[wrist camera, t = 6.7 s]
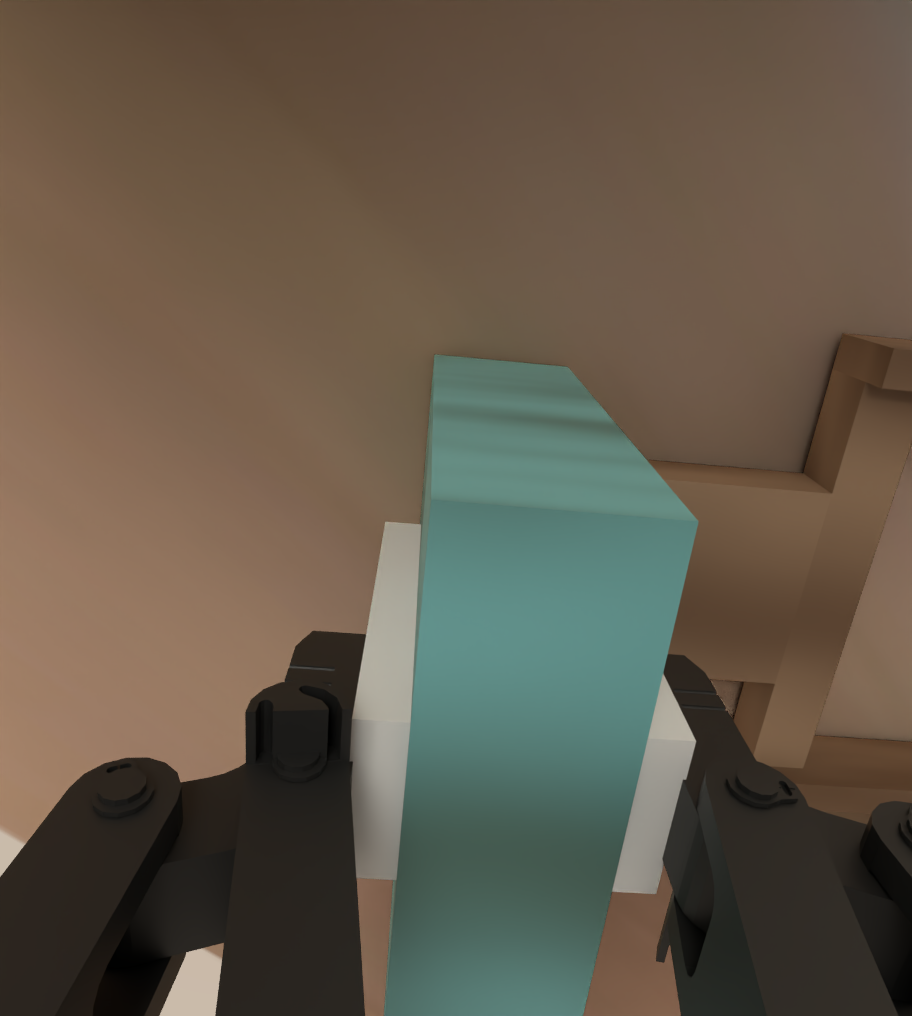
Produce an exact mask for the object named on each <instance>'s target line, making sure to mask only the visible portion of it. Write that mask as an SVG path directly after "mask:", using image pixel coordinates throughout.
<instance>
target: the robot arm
mask: <svg viewBox="0 0 912 1016" xmlns="http://www.w3.org/2000/svg"><path fill="white" fill-rule="evenodd" d="M420 536H421V524H411V523H398V522H385V527H384V533H383V539H382V545H381V551H380V557H379V563H378V568H377V574H376V580H375V586H374V592H373V598H372V604H371V610H370V616H369V621H368V627H367V633H366V634H352V633H338V632H324V631H312V632H311V633H310V634H309V635H308V636H307V637H305V638H304V639H303V640H302V641H301V642H300V643H299V644H298V645H296V647H295V650H294V653H293V656H292V659H291V662H290V668H289V669H288V672H287V675H286V678H285V682H281V683H278V684H276V685H273V686H271V687H268V688H266V689H263V690H262V691H261V692H260V693H259V694H257V695H256V696H255V697H254V698H252V699H251V701H250V703H249V705H248V708H247V710H246V712H245V713H246V763H245V764H243V765H242V766H240V767H239V768H236V769H234V770H232V771H229V772H227V773H225V774H221V775H217V776H213V777H209V778H204V779H198V780H193V781H187V782H181V783H180V780H179V776H178V773H177V772H176V771H175V770H174V769H172V768H171V767H170V766H169V765H168V764H166V763H165V762H161V761H158V760H154V759H151V758H124V759H120V760H116V761H112V762H108V763H104V764H103V765H101V766H99V767H97V768H95V769H93V770H91V771H89V772H87V773H85V774H84V775H83V776H82V777H80V778H79V779H78V780H77V781H76V782H75V783H74V784H73V785H72V786H71V787H70V788H69V789H68V790H67V791H66V793H65V794H64V795H63V797H62V798H61V799H60V800H59V802H58V803H57V804H56V806H55V807H54V808H53V810H52V811H51V812H50V813H49V815H48V816H47V817H46V819H45V820H44V821H43V822H42V824H41V825H40V826H39V828H38V829H37V830H36V831H35V833H34V834H33V835H32V837H31V838H30V839H29V841H28V842H27V843H26V844H25V846H24V847H23V848H22V850H21V851H20V852H19V854H18V855H17V856H16V857H15V859H14V860H13V861H12V863H11V864H10V865H9V866H8V868H7V869H6V870H5V872H4V873H3V875H2V876H1V877H0V1016H159V1015H160V1013H161V1010H162V1008H163V1006H164V1004H165V1001H166V999H167V997H168V994H169V992H170V990H171V988H172V985H173V983H174V981H175V979H176V976H177V974H178V972H179V969H180V967H181V965H182V962H183V960H184V958H185V955H186V952H189V951H192V950H197V949H201V948H205V947H209V946H212V945H216V944H220V943H224V949H223V958H222V966H221V974H220V982H219V990H218V999H217V1007H216V1016H365V1009H364V992H363V976H362V960H361V944H360V927H359V911H358V895H357V879H356V878H363V879H382V880H396V879H397V868H398V857H399V846H400V834H401V823H402V812H403V801H404V790H405V779H406V768H407V757H408V745H409V734H410V723H411V705H412V686H413V667H414V648H415V630H416V611H417V592H418V574H419V555H420ZM664 865H665V868H666V871H667V874H668V877H669V880H670V883H671V885H672V888H673V891H672V895H671V899H670V902H669V906H668V910H667V913H666V917H665V921H664V924H663V928H662V932H661V935H660V939H659V943H658V946H657V956H656V961H658V962H663V963H664V961H665V957H666V954H667V950H668V947H669V945H670V947H671V953H672V960H673V966H674V973H675V979H676V986H677V992H678V999H679V1005H680V1012H681V1016H912V803H908V802H900V801H890V802H885V803H880V804H879V805H878V806H877V807H876V808H875V809H874V810H873V811H872V813H871V816H870V818H869V821H868V823H867V824H864V823H860V822H857V821H853V820H850V819H846V818H843V817H840V816H836V815H833V814H829V813H826V812H823V811H820V810H817V809H814V808H812V807H809V806H808V804H807V801H806V799H805V797H804V796H803V794H802V793H801V791H800V790H799V789H798V787H797V786H796V784H795V783H793V782H792V781H791V780H790V779H788V778H787V777H786V776H785V775H784V774H782V773H781V772H779V771H777V770H776V769H774V768H772V767H770V766H768V765H766V764H764V763H761V762H758V761H756V759H755V757H754V756H753V754H752V752H751V751H750V749H749V747H748V745H747V744H746V742H745V740H744V739H743V737H742V735H741V733H740V732H739V730H738V728H737V726H736V725H735V723H734V721H733V720H732V718H731V716H730V714H729V713H728V711H725V706H724V704H723V702H722V701H721V699H720V697H719V695H716V690H715V688H714V687H713V685H712V683H711V682H710V680H709V678H708V676H707V675H706V673H705V672H704V671H703V670H702V669H700V668H699V667H698V666H697V665H696V664H694V663H693V662H692V661H691V660H690V659H688V658H687V657H686V656H685V655H674V654H668V655H667V659H666V663H665V667H664V672H663V676H662V680H661V684H660V689H659V693H658V697H657V702H656V706H655V710H654V714H653V719H652V723H651V727H650V731H649V736H648V740H647V744H646V749H645V753H644V757H643V761H642V766H641V770H640V774H639V778H638V783H637V787H636V791H635V796H634V800H633V804H632V808H631V813H630V817H629V821H628V826H627V830H626V834H625V838H624V843H623V847H622V851H621V855H620V860H619V864H618V868H617V873H616V877H615V881H614V885H613V890H612V892H626V893H645V894H656V892H657V888H658V885H659V881H660V877H661V873H662V869H663V866H664Z"/></svg>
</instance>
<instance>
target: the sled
mask: <svg viewBox="0 0 912 1016" xmlns="http://www.w3.org/2000/svg"><path fill="white" fill-rule="evenodd" d="M911 444H912V340H906V339H896V338H885V337H875V336H865V335H855V334H844V333H843V334H842V338H841V341H840V345H839V348H838V352H837V355H836V359H835V363H834V366H833V370H832V373H831V377H830V380H829V384H828V387H827V391H826V394H825V398H824V402H823V405H822V409H821V412H820V416H819V419H818V423H817V426H816V430H815V433H814V437H813V440H812V444H811V448H810V451H809V455H808V458H807V462H806V465H805V469H804V472H803V473H794V472H783V471H771V470H760V469H748V468H736V467H725V466H713V465H702V464H690V463H678V462H667V461H655V460H646V459H645V457H644V456H643V455H642V454H641V453H640V452H639V450H638V449H637V448H636V447H635V446H634V444H633V443H632V442H631V441H630V440H629V439H628V437H627V436H626V435H625V434H624V433H623V431H622V430H621V429H620V428H619V427H618V426H617V424H616V423H615V422H614V421H613V420H612V418H611V417H610V416H609V415H608V414H607V413H606V411H605V410H604V409H603V408H602V407H601V405H600V404H599V403H598V402H597V401H596V400H595V398H594V397H593V396H592V395H591V394H590V392H589V391H588V390H587V389H586V388H585V387H584V385H583V384H582V383H581V382H580V381H579V379H578V378H577V377H576V376H575V375H574V374H573V372H572V371H571V370H570V369H569V368H568V367H565V366H554V365H543V364H532V363H522V362H511V361H500V360H489V359H479V358H468V357H457V356H446V355H436V354H434V365H433V377H432V389H431V401H430V412H429V424H428V436H427V447H426V459H425V471H424V483H423V494H422V506H421V518H420V524H421V536H420V555H419V574H418V592H417V611H416V630H415V648H414V667H413V686H412V705H411V723H410V734H409V745H408V757H407V768H406V779H405V790H404V801H403V812H402V823H401V834H400V846H399V857H398V868H397V879H396V880H393V887H392V902H391V917H390V932H389V947H388V962H387V976H386V991H385V1006H384V1016H583V1014H584V1009H585V1005H586V1001H587V997H588V992H589V988H590V984H591V979H592V975H593V971H594V967H595V962H596V958H597V954H598V949H599V945H600V941H601V937H602V932H603V928H604V924H605V920H606V915H607V911H608V907H609V902H610V898H611V894H612V890H613V885H614V881H615V877H616V873H617V868H618V864H619V860H620V855H621V851H622V847H623V843H624V838H625V834H626V830H627V826H628V821H629V817H630V813H631V808H632V804H633V800H634V796H635V791H636V787H637V783H638V778H639V774H640V770H641V766H642V761H643V757H644V753H645V749H646V744H647V740H648V736H649V731H650V727H651V723H652V719H653V714H654V710H655V706H656V702H657V697H658V693H659V689H660V684H661V680H662V676H663V672H664V667H665V663H666V659H667V655H668V654H674V655H685V656H686V657H687V658H688V659H690V660H691V661H692V662H693V663H694V664H696V665H697V666H698V667H699V668H700V669H702V670H703V671H704V672H705V673H706V675H707V676H708V678H709V679H714V680H728V681H742V682H744V685H743V688H742V692H741V695H740V699H739V702H738V706H737V709H736V713H735V717H734V720H733V721H734V723H735V725H736V726H737V728H738V730H739V732H740V733H741V735H742V737H743V739H744V740H745V742H746V744H747V745H748V747H749V749H750V751H751V752H752V754H753V756H754V757H755V759H756V761H758V762H761V763H764V764H766V765H768V766H770V767H772V768H774V769H776V770H777V771H779V772H781V773H782V774H784V775H785V776H786V777H787V778H788V779H790V780H791V781H792V782H793V783H795V784H796V786H797V787H798V789H799V790H800V791H801V793H802V794H803V796H804V797H805V799H806V801H807V804H808V806H809V807H812V808H814V809H817V810H820V811H834V812H850V813H867V814H871V813H872V811H873V810H874V809H875V808H876V807H877V806H878V805H879V804H880V803H885V802H890V801H900V802H908V803H912V742H904V741H889V740H873V739H858V738H843V737H828V736H814V734H815V731H816V728H817V725H818V722H819V719H820V716H821V713H822V710H823V707H824V704H825V701H826V698H827V695H828V692H829V689H830V686H831V683H832V680H833V677H834V674H835V671H836V668H837V666H838V663H839V660H840V657H841V654H842V651H843V648H844V645H845V642H846V639H847V636H848V633H849V630H850V627H851V624H852V621H853V618H854V615H855V612H856V609H857V606H858V603H859V600H860V597H861V594H862V591H863V588H864V585H865V582H866V579H867V576H868V573H869V570H870V567H871V564H872V561H873V558H874V555H875V552H876V549H877V546H878V543H879V540H880V537H881V534H882V531H883V528H884V525H885V522H886V519H887V516H888V513H889V510H890V507H891V504H892V501H893V498H894V495H895V492H896V489H897V486H898V483H899V480H900V477H901V474H902V471H903V468H904V465H905V462H906V459H907V456H908V453H909V450H910V447H911Z"/></svg>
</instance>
